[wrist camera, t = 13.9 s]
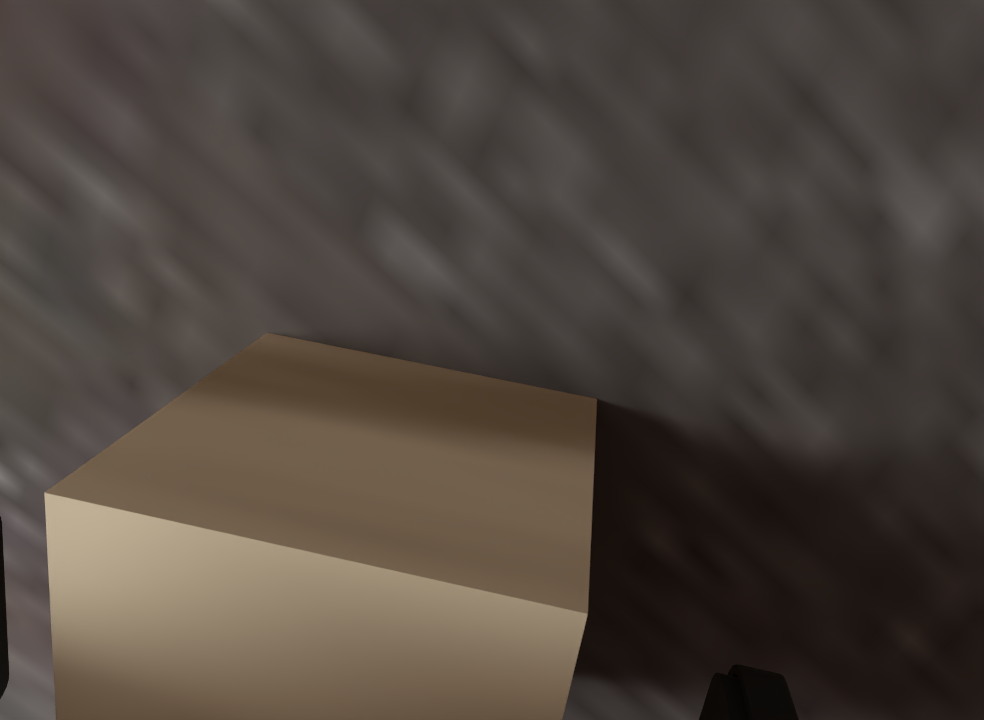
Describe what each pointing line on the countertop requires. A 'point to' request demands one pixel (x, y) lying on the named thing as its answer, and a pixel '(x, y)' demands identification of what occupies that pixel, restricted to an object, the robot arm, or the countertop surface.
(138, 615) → the wood cube
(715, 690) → the robot arm
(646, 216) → the countertop surface
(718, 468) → the countertop surface
